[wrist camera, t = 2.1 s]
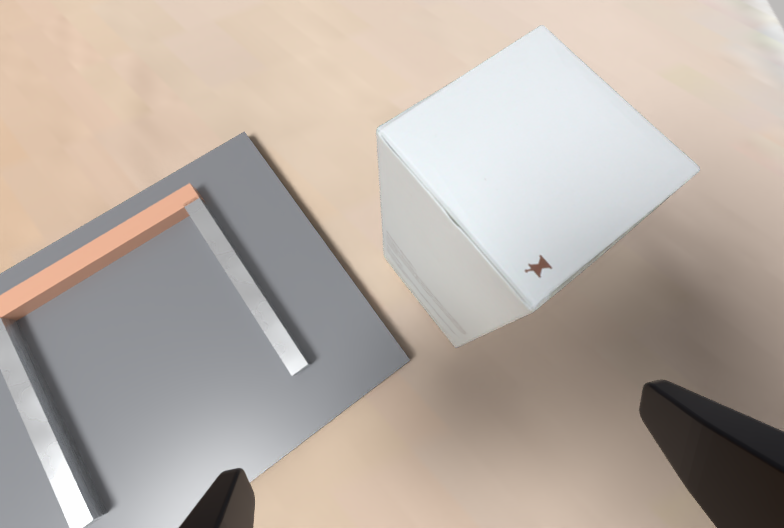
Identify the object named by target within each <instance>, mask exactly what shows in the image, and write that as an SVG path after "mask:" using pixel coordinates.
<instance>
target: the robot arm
mask: <svg viewBox="0 0 784 528" xmlns="http://www.w3.org/2000/svg"><path fill="white" fill-rule="evenodd" d="M639 411H640V416H641V418H642V420H643V422H644V424H645V425H646V427H647V428H648V430H649V431H650V433H651V434H652V436H653V438H654V439H655V441H656V442H657V444H658V445H659V447H660V448H661V450H662V451H663V453H664V455H665V456H666V458H667V459H668V461H669V462H670V464H671V465H672V467H673V469H674V470H675V472H676V473H677V475H678V476H679V478H680V479H681V481H682V482H683V484H684V485H685V487H686V488H687V489H688V491H689V492H690V493H691V495H692V496H693V497H694V499H695V500H696V501H697V503H698V504H699V505H700V506H701V508H702V509H703V510H704V512H705V513H706V514H707V515H708V517H709V518H710V519H711V521H712V522H713V523H714V524H715V526H716V527H717V528H784V432H783V431H781V430H779V429H776V428H774V427H772V426H769V425H767V424H765V423H763V422H760V421H758V420H756V419H753V418H751V417H749V416H747V415H744V414H742V413H740V412H737V411H735V410H733V409H731V408H728V407H726V406H724V405H722V404H719V403H717V402H715V401H712V400H710V399H708V398H706V397H703V396H701V395H699V394H696V393H694V392H692V391H690V390H687V389H685V388H683V387H680V386H678V385H676V384H674V383H671V382H669V381H666V380H657V381H652V382H648V383H646V384H645V385H644V386H643V390H642V396H641V402H640V408H639ZM254 510H255V496H254V492H253V489H252V487H251V485H250V482H249V480H248V478H247V476H246V473H245V471H244V470H243V469H242V468H235V469H230V470H226V471H223V472H222V473H220V474H219V475H218V477H217V478H216V479H215V481H214V482H213V483H212V485H211V486H210V487H209V489H208V490H207V491H206V492H205V494H204V495H203V496H202V498H201V499H200V500H199V502H198V503H197V504H196V506H195V507H194V508H193V509H192V511H191V512H190V513H189V515H188V516H187V517H186V519H185V520H184V521H183V523H182V524H181V525H180V526H179V528H253V523H254Z"/></svg>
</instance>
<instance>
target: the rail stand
mask: <svg viewBox="0 0 784 528" xmlns="http://www.w3.org/2000/svg"><path fill="white" fill-rule="evenodd" d="M409 361H410V359H409V358H408V357H407V355H406V354H405V352H404V351H403V350H402V348H401V347H400V345H399V344H398V343H397V341H396V340H395V339H394V337H393V336H392V334H391V333H390V332H389V330H388V329H387V328H386V326H385V325H384V323H383V322H382V321H381V319H380V318H379V317H378V315H377V314H376V312H375V311H374V310H373V308H372V307H371V305H370V304H369V303H368V301H367V300H366V299H365V297H364V296H363V294H362V293H361V292H360V290H359V289H358V288H357V286H356V285H355V283H354V282H353V281H352V279H351V278H350V276H349V275H348V274H347V272H346V271H345V270H344V268H343V267H342V265H341V264H340V263H339V261H338V260H337V259H336V257H335V256H334V254H333V253H332V252H331V250H330V249H329V248H328V246H327V245H326V243H325V242H324V241H323V239H322V238H321V236H320V235H319V234H318V232H317V231H316V230H315V228H314V227H313V225H312V224H311V223H310V221H309V220H308V219H307V217H306V216H305V214H304V213H303V212H302V210H301V209H300V207H299V206H298V205H297V203H296V202H295V201H294V199H293V198H292V196H291V195H290V194H289V192H288V191H287V190H286V188H285V187H284V185H283V184H282V183H281V181H280V180H279V179H278V177H277V176H276V174H275V173H274V172H273V170H272V169H271V167H270V166H269V165H268V163H267V162H266V161H265V159H264V158H263V156H262V155H261V154H260V152H259V151H258V150H257V148H256V147H255V145H254V144H253V143H252V141H251V140H250V138H249V137H248V136H247V134H246V133H245V132H243V133H241V134H239V135H238V136H236V137H234V138H232V139H231V140H229V141H227V142H226V143H224V144H222V145H220V146H219V147H217V148H215V149H213V150H212V151H210V152H208V153H207V154H205V155H203V156H201V157H200V158H198V159H196V160H195V161H193V162H191V163H189V164H188V165H186V166H184V167H183V168H181V169H179V170H177V171H176V172H174V173H172V174H171V175H169V176H167V177H165V178H164V179H162V180H160V181H159V182H157V183H155V184H153V185H152V186H150V187H148V188H147V189H145V190H143V191H141V192H140V193H138V194H136V195H135V196H133V197H131V198H129V199H128V200H126V201H124V202H123V203H121V204H119V205H117V206H116V207H114V208H112V209H111V210H109V211H107V212H105V213H104V214H102V215H100V216H99V217H97V218H95V219H93V220H92V221H90V222H88V223H87V224H85V225H83V226H81V227H80V228H78V229H76V230H75V231H73V232H71V233H69V234H68V235H66V236H64V237H62V238H61V239H59V240H57V241H56V242H54V243H52V244H50V245H49V246H47V247H45V248H44V249H42V250H40V251H38V252H37V253H35V254H33V255H32V256H30V257H28V258H26V259H25V260H23V261H21V262H20V263H18V264H16V265H14V266H13V267H11V268H9V269H8V270H6V271H4V272H2V273H1V274H0V528H179V526H180V525H181V524H182V523H183V521H184V520H185V519H186V517H187V516H188V515H189V513H190V512H191V511H192V509H193V508H194V507H195V506H196V504H197V503H198V502H199V500H200V499H201V498H202V496H203V495H204V494H205V492H206V491H207V490H208V489H209V487H210V486H211V485H212V483H213V482H214V481H215V479H216V478H217V477H218V475H219V474H220V473H222V472H223V471H226V470H230V469H235V468H242V469H243V470H244V471H245V473H246V476H247V478H248V480H249V482H251V481H252V480H254V479H255V478H256V477H258V476H259V475H260V474H262V473H263V472H264V471H266V470H267V469H268V468H269V467H271V466H272V465H273V464H275V463H276V462H277V461H279V460H280V459H281V458H283V457H284V456H285V455H287V454H288V453H289V452H290V451H292V450H293V449H294V448H296V447H297V446H298V445H300V444H301V443H302V442H304V441H305V440H306V439H308V438H309V437H310V436H311V435H313V434H314V433H315V432H317V431H318V430H319V429H321V428H322V427H323V426H325V425H326V424H327V423H329V422H330V421H331V420H332V419H334V418H335V417H336V416H338V415H339V414H340V413H342V412H343V411H344V410H346V409H347V408H348V407H350V406H351V405H352V404H353V403H355V402H356V401H357V400H359V399H360V398H361V397H363V396H364V395H365V394H367V393H368V392H369V391H371V390H372V389H373V388H374V387H376V386H377V385H378V384H380V383H381V382H382V381H384V380H385V379H386V378H388V377H389V376H390V375H392V374H393V373H394V372H395V371H397V370H398V369H399V368H401V367H402V366H403V365H405V364H406V363H407V362H409Z"/></svg>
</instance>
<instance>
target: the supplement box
mask: <svg viewBox="0 0 784 528" xmlns="http://www.w3.org/2000/svg"><path fill="white" fill-rule="evenodd" d="M376 135H377V153H378V169H379V185H380V200H381V216H382V232H383V251H384V257H385V259H386V260H387V261H388V263H389V264H390V265H391V267H392V268H393V269H394V271H395V272H396V273H397V275H398V276H399V277H400V278H401V280H402V281H403V282H404V284H405V285H406V286H407V287H408V289H409V290H410V291H411V292H412V294H413V295H414V296H415V298H416V299H417V300H418V301H419V303H420V304H421V305H422V306H423V308H424V309H425V310H426V311H427V313H428V314H429V315H430V316H431V318H432V319H433V320H434V321H435V323H436V324H437V325H438V327H439V328H440V329H441V330H442V332H443V333H444V334H445V335H446V337H447V338H448V339H449V340H450V342H451V343H452V344H453V346H454V347H455V348H458V347H460V346H462V345H464V344H466V343H469V342H471V341H473V340H475V339H477V338H479V337H481V336H484V335H486V334H488V333H490V332H492V331H494V330H496V329H498V328H501V327H503V326H505V325H507V324H509V323H511V322H514V321H516V320H518V319H520V318H522V317H524V316H527V315H529V314H531V313H533V312H534V311H536V310H537V309H538V308H539V307H541V306H542V305H543V304H544V303H545V302H547V301H548V300H549V299H550V298H551V297H553V296H554V295H555V294H556V293H557V292H559V291H560V290H561V289H562V288H563V287H565V286H566V285H567V284H568V283H569V282H571V281H572V280H573V279H574V278H575V277H577V276H578V275H579V274H580V273H581V272H583V271H584V270H585V269H586V268H587V267H589V266H590V265H591V264H592V263H593V262H594V261H596V260H597V259H598V258H599V257H600V256H602V255H603V254H604V253H605V252H606V251H607V250H608V249H610V248H611V247H612V246H613V245H614V244H615V243H617V242H618V241H619V240H620V239H621V238H622V237H624V236H625V235H626V234H627V233H628V232H629V231H631V230H632V229H633V228H634V227H635V226H636V225H638V224H639V223H640V222H641V221H642V220H643V219H644V218H646V217H647V216H648V215H649V214H650V213H651V212H653V211H654V210H655V209H656V208H657V207H658V206H659V205H661V204H662V203H663V202H664V201H665V200H666V199H668V198H669V197H670V196H671V195H672V194H673V193H674V192H676V191H677V190H678V189H679V188H680V187H681V186H683V185H684V184H685V183H686V182H687V181H689V180H690V179H691V178H692V177H693V176H695V175H696V174H697V173H698V172H699V171H700V167H699V166H698V165H697V164H696V163H695V162H694V161H692V160H691V159H690V158H689V157H688V156H687V155H686V154H685V153H684V152H682V151H681V150H680V149H679V148H678V147H677V146H675V145H674V144H673V143H672V142H671V141H670V140H669V139H668V138H667V137H665V136H664V135H663V134H662V133H661V132H660V131H659V130H657V129H656V128H655V127H654V126H653V125H652V124H651V123H650V122H649V121H648V120H646V119H645V118H644V117H643V116H642V115H641V114H640V113H639V112H638V111H637V110H635V109H634V108H633V107H632V106H631V105H630V104H629V103H628V102H627V101H626V100H625V99H623V98H622V97H621V96H620V95H619V94H618V93H617V92H616V91H615V90H614V89H612V88H611V87H610V86H609V85H608V84H607V83H606V82H605V81H604V80H603V79H601V78H600V77H599V76H598V75H597V74H596V73H595V72H594V71H593V70H591V69H590V68H589V67H588V66H587V65H586V64H585V63H584V62H583V61H582V60H581V59H579V58H578V57H577V56H576V55H575V54H574V53H573V52H572V51H571V50H570V49H569V48H567V47H566V46H565V45H564V44H563V43H562V42H561V41H560V40H559V39H558V38H557V37H556V36H554V35H553V34H552V33H551V32H550V31H549V30H548V29H547V28H546V27H545V26H543V25H540V26H538V27H537V28H536V29H534V30H532V31H531V32H529V33H528V34H526V35H525V36H523V37H521V38H520V39H518V40H517V41H515V42H514V43H512V44H511V45H509V46H507V47H506V48H504V49H503V50H501V51H500V52H498V53H497V54H495V55H494V56H492V57H490V58H489V59H487V60H486V61H484V62H483V63H481V64H480V65H478V66H476V67H475V68H473V69H472V70H470V71H469V72H467V73H466V74H464V75H463V76H461V77H460V78H458V79H456V80H455V81H453V82H451V83H450V84H448V85H446V86H445V87H443V88H441V89H440V90H438V91H437V92H435V93H433V94H432V95H430V96H428V97H427V98H425V99H423V100H422V101H420V102H418V103H417V104H415V105H413V106H412V107H410V108H408V109H407V110H405V111H404V112H402V113H400V114H399V115H397V116H395V117H394V118H392V119H391V120H389V121H387V122H385V123H384V124H382V125H380V126H379V127H378V128H377V130H376Z"/></svg>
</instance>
